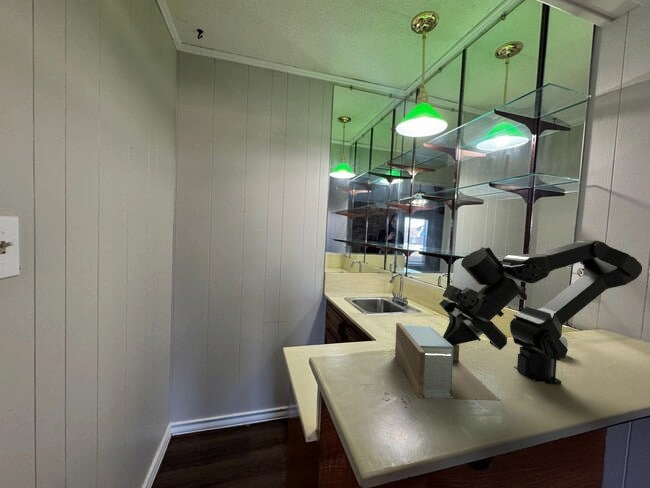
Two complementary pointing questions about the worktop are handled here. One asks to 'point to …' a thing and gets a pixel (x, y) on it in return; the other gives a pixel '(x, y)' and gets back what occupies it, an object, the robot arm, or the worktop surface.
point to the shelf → (414, 365)
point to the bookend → (437, 375)
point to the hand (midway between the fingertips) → (441, 346)
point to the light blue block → (431, 341)
